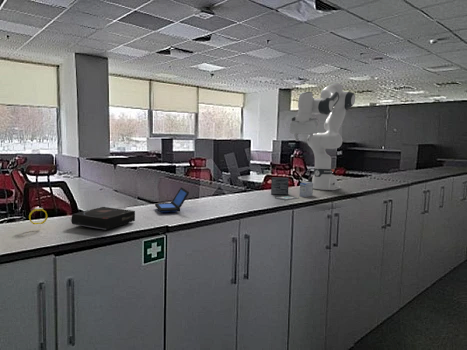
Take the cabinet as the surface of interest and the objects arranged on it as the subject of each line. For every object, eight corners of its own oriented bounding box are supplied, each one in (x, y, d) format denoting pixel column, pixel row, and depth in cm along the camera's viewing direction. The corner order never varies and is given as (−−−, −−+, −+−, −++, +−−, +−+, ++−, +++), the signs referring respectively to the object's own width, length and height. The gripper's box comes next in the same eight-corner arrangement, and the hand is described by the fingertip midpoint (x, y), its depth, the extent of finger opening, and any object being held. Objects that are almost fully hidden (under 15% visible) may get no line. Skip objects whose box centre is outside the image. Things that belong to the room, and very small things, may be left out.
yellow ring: (29, 225, 131) (29, 209, 130) (28, 224, 133) (28, 208, 133) (48, 223, 135) (47, 208, 134) (46, 222, 137) (46, 206, 136)
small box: (287, 194, 227) (288, 177, 226) (288, 195, 220) (289, 178, 219) (270, 193, 228) (271, 176, 227) (271, 194, 221) (271, 178, 220)
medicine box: (306, 195, 223) (307, 181, 222) (312, 196, 220) (313, 182, 219) (299, 196, 218) (299, 182, 217) (305, 197, 214) (306, 183, 214)
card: (288, 196, 216) (288, 195, 216) (299, 198, 210) (299, 197, 210) (274, 198, 209) (275, 197, 209) (285, 200, 202) (285, 199, 202)
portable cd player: (102, 215, 152) (102, 206, 152) (134, 220, 146) (134, 210, 145) (71, 224, 137) (71, 213, 137) (106, 229, 131) (106, 219, 130)
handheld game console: (154, 206, 175) (154, 187, 175) (181, 205, 180) (181, 186, 180) (160, 212, 161) (160, 192, 160) (189, 211, 166) (189, 191, 165)
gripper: (321, 118, 213) (320, 141, 214) (295, 119, 228) (294, 141, 230) (314, 117, 209) (313, 141, 210) (288, 118, 225) (287, 140, 226)
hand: (303, 141), depth 220 cm, fingers open, 8 cm apart
